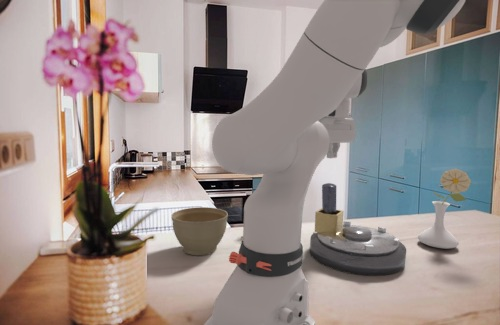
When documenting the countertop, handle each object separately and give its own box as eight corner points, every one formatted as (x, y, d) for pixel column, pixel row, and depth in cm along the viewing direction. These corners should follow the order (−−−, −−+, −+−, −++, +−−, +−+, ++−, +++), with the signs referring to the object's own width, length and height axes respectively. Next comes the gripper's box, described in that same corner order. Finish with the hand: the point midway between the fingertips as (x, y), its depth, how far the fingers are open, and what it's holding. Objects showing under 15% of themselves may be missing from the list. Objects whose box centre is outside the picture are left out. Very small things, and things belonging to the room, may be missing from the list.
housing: (396, 285, 78) (397, 267, 77) (295, 259, 92) (295, 243, 91) (411, 251, 100) (412, 237, 99) (327, 234, 114) (328, 221, 113)
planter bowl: (215, 237, 108) (216, 204, 107) (236, 255, 94) (236, 218, 93) (166, 244, 101) (165, 209, 100) (179, 265, 87) (179, 224, 85)
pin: (337, 227, 101) (338, 184, 96) (333, 233, 97) (333, 189, 93) (325, 224, 103) (324, 182, 98) (320, 230, 99) (320, 187, 95)
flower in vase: (412, 245, 105) (419, 167, 102) (422, 236, 114) (428, 164, 111) (461, 256, 97) (469, 171, 94) (467, 246, 105) (475, 168, 102)
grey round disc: (403, 237, 99) (404, 213, 98) (391, 263, 80) (393, 233, 79) (329, 224, 111) (330, 202, 110) (304, 244, 92) (305, 218, 91)
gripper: (343, 113, 109) (341, 155, 110) (304, 110, 95) (302, 158, 96) (361, 113, 104) (359, 157, 105) (322, 110, 90) (320, 160, 92)
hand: (331, 158), depth 101 cm, fingers closed
